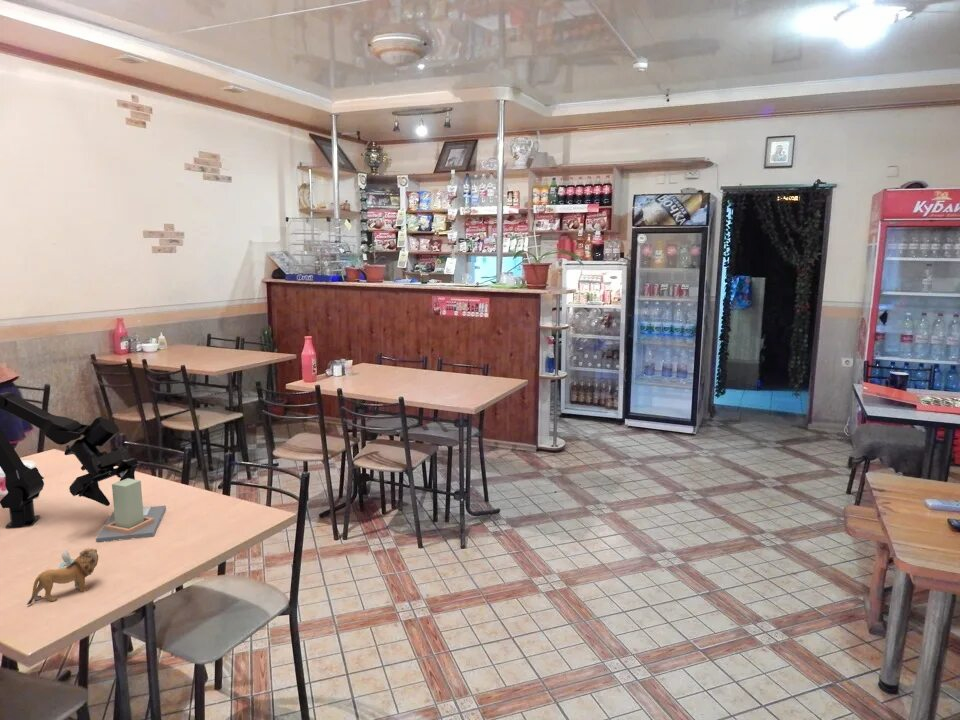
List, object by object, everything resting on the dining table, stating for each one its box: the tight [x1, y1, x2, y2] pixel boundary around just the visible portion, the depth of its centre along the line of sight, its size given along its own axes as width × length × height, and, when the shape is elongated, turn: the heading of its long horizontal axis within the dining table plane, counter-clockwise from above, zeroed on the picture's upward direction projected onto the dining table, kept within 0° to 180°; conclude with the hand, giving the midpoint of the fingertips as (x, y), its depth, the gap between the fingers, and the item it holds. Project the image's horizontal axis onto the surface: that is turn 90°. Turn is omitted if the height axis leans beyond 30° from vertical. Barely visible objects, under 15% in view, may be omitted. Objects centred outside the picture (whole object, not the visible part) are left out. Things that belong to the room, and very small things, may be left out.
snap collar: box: [105, 517, 154, 535], centre depth 175 cm, size 9×9×1 cm
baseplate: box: [95, 505, 167, 543], centre depth 179 cm, size 20×14×2 cm
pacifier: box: [58, 550, 76, 569], centre depth 151 cm, size 7×6×6 cm
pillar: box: [111, 478, 144, 529], centre depth 174 cm, size 5×5×13 cm
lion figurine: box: [26, 547, 99, 606], centre depth 142 cm, size 15×5×9 cm, turn 141°
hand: (123, 499), depth 174 cm, fingers open, 9 cm apart
